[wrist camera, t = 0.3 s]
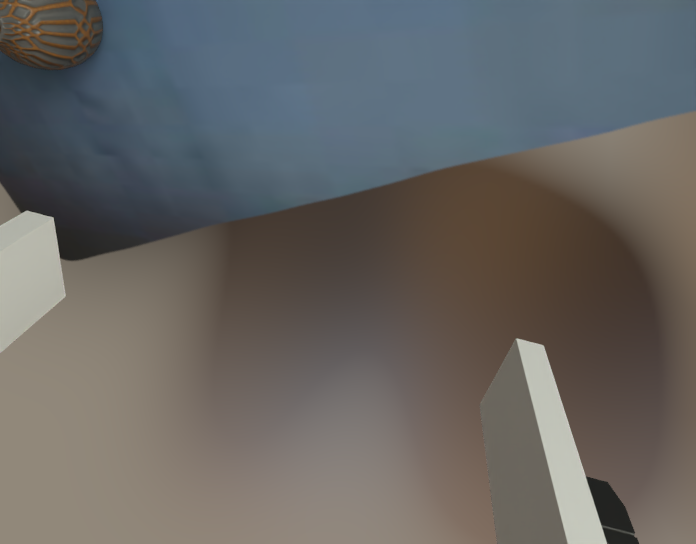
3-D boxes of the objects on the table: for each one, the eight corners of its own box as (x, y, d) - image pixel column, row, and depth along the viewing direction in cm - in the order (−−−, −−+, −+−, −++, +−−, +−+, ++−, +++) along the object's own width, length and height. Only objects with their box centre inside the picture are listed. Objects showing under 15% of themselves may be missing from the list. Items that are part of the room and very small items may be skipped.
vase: (33, 42, 38) (-63, 57, 30) (30, -56, 34) (-80, -67, 27) (115, 75, 38) (40, 97, 31) (121, -18, 34) (37, -19, 27)
